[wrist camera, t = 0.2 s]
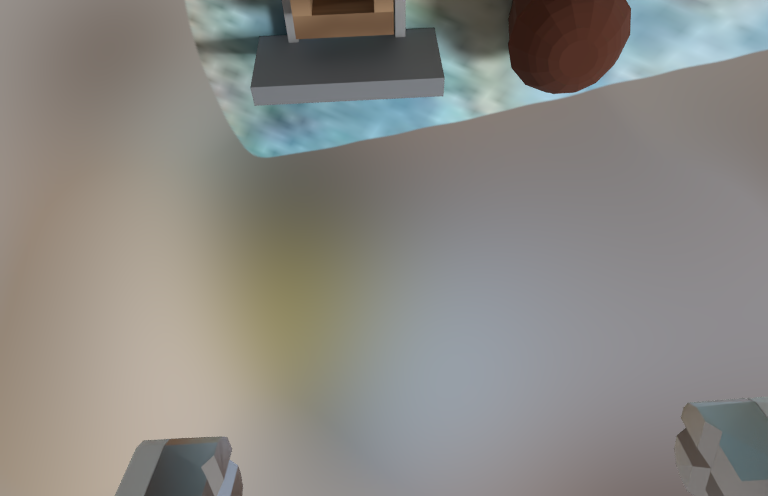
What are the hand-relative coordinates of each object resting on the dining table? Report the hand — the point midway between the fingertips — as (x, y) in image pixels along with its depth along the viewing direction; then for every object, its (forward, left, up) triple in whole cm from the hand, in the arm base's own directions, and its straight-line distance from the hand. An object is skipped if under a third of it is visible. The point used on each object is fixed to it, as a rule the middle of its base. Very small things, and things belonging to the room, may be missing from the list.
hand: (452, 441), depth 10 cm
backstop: (+14, +6, -52) cm, 54 cm away
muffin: (+5, +25, -52) cm, 58 cm away
